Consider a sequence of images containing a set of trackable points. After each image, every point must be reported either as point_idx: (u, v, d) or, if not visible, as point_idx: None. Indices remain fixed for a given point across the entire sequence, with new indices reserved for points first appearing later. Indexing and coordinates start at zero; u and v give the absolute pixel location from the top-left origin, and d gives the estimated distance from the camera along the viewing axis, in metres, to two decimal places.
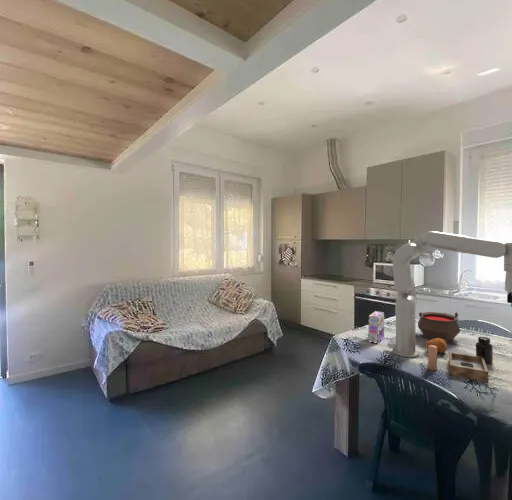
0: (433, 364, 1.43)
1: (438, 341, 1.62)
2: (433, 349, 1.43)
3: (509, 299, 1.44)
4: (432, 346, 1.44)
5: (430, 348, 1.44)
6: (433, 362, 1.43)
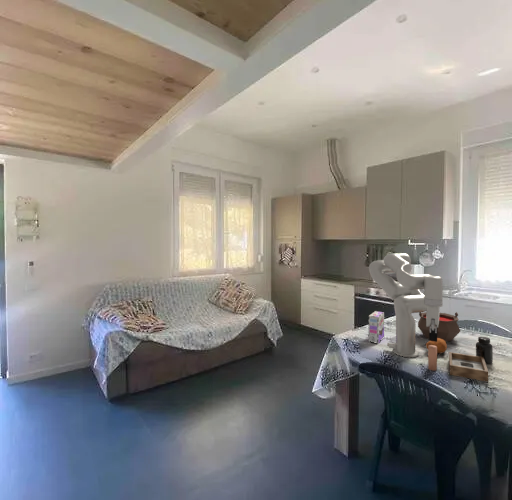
0: (433, 364, 1.43)
1: (438, 341, 1.62)
2: (433, 349, 1.43)
3: None
4: (432, 346, 1.44)
5: (430, 348, 1.44)
6: (433, 362, 1.43)
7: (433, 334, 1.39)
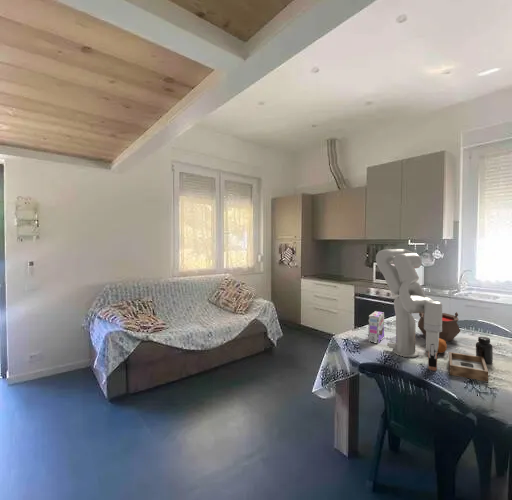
0: None
1: None
2: None
3: None
4: None
5: None
6: None
7: (432, 360, 1.42)
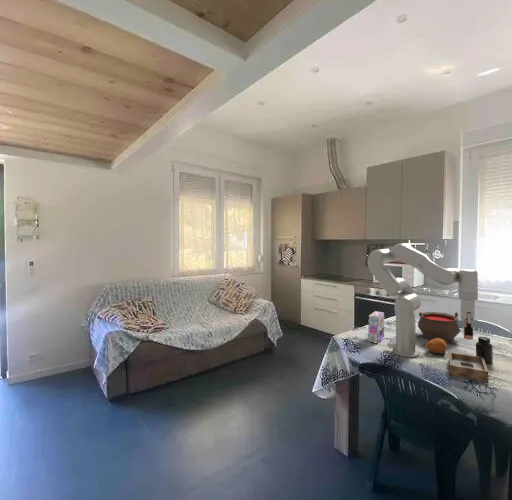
0: None
1: (438, 342, 1.62)
2: None
3: None
4: None
5: None
6: None
7: (469, 328, 1.41)
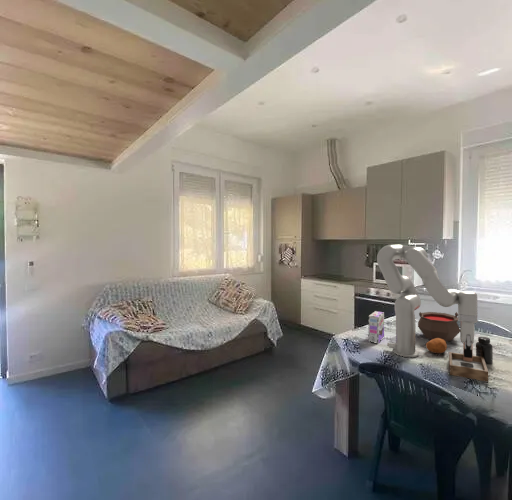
0: None
1: (438, 341, 1.62)
2: None
3: None
4: None
5: None
6: None
7: (468, 351, 1.41)
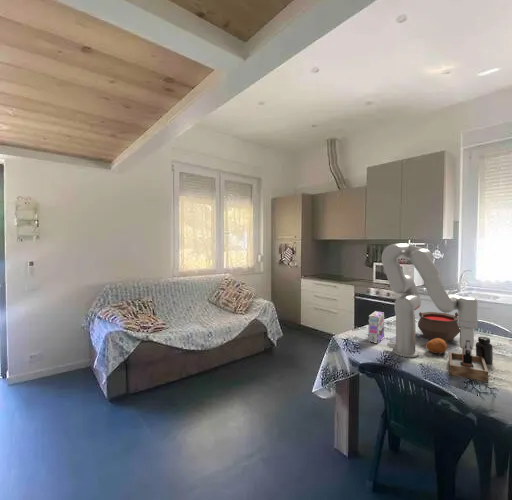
0: (467, 364, 1.43)
1: (438, 341, 1.62)
2: None
3: None
4: None
5: None
6: None
7: (468, 356, 1.40)
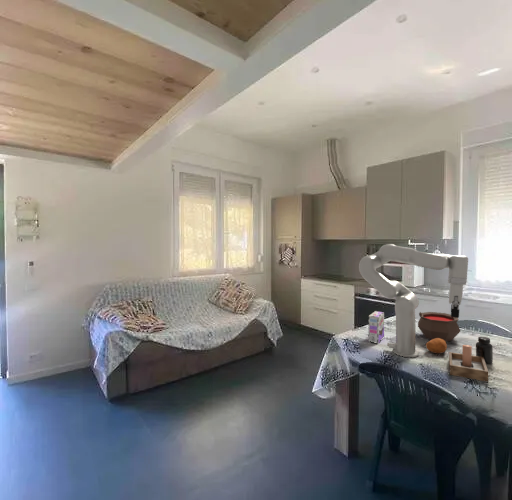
0: (467, 364, 1.43)
1: (438, 341, 1.62)
2: (468, 349, 1.42)
3: None
4: (466, 346, 1.44)
5: (465, 348, 1.43)
6: (467, 362, 1.43)
7: (455, 310, 1.44)
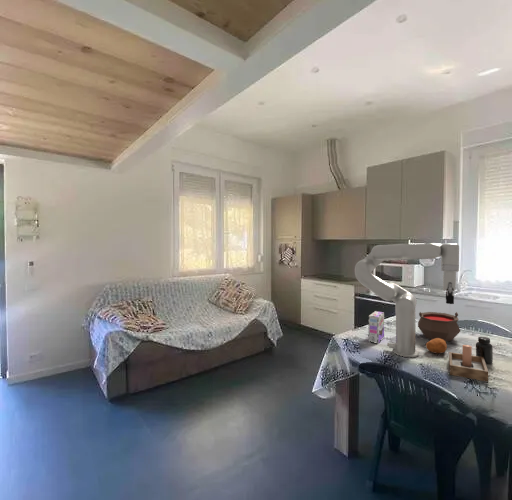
0: (467, 364, 1.43)
1: (438, 342, 1.62)
2: (468, 349, 1.42)
3: None
4: (466, 346, 1.44)
5: (465, 348, 1.43)
6: (467, 362, 1.43)
7: (450, 297, 1.48)
